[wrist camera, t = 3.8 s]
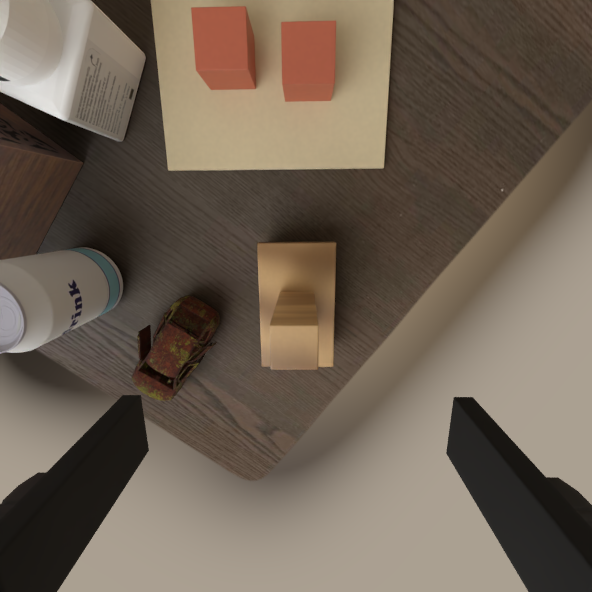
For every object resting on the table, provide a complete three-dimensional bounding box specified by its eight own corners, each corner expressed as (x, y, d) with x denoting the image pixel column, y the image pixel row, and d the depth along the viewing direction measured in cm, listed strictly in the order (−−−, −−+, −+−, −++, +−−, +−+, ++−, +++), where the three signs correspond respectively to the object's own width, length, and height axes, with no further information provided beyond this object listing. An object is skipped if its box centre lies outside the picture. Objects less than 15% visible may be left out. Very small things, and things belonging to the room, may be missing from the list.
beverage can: (122, 319, 34) (28, 375, 23) (58, 299, 34) (-71, 345, 22) (134, 258, 32) (39, 284, 21) (67, 237, 32) (-68, 251, 20)
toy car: (175, 280, 33) (154, 291, 28) (233, 315, 34) (222, 332, 29) (126, 368, 36) (99, 391, 31) (181, 398, 36) (163, 426, 32)
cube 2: (331, 47, 27) (336, 20, 23) (330, 101, 28) (335, 83, 24) (284, 48, 27) (280, 21, 23) (284, 101, 28) (281, 84, 24)
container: (43, 107, 29) (-157, 26, 16) (62, 14, 27) (-146, -157, 15) (124, 144, 30) (-8, 93, 17) (148, 55, 28) (20, -74, 15)
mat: (395, -52, 25) (397, -58, 25) (382, 168, 30) (384, 167, 29) (148, -45, 26) (145, -51, 25) (170, 170, 30) (167, 170, 30)
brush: (262, 239, 32) (236, 257, 19) (332, 239, 31) (350, 256, 19) (265, 351, 35) (245, 426, 22) (330, 351, 34) (344, 427, 22)
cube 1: (254, 35, 27) (246, 5, 23) (256, 89, 28) (248, 69, 24) (206, 36, 27) (190, 6, 23) (210, 90, 28) (195, 70, 24)
